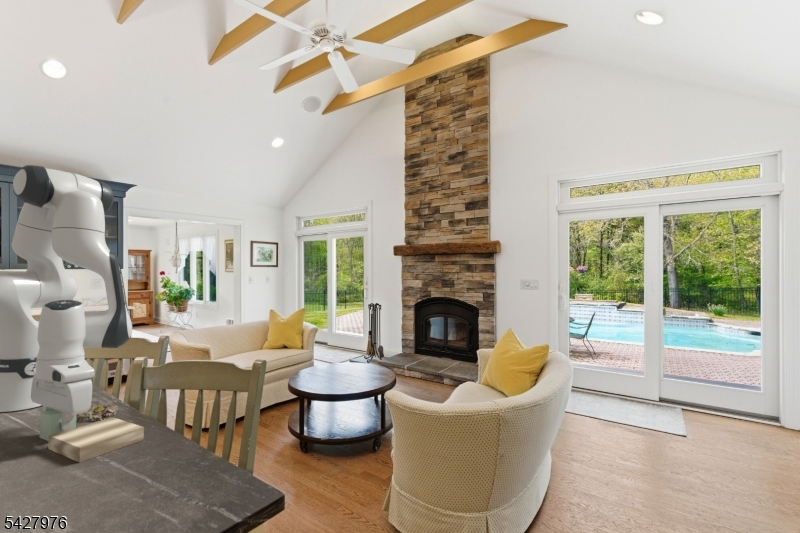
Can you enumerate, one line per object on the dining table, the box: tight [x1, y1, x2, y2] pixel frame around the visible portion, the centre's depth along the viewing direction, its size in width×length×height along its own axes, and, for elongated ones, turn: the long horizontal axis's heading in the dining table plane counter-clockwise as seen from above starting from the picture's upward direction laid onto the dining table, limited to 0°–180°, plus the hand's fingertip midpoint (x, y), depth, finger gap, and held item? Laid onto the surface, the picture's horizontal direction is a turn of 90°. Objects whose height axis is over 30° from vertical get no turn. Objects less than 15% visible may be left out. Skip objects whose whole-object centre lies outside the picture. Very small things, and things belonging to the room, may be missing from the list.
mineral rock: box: [76, 404, 119, 424], centre depth 107 cm, size 11×4×8 cm
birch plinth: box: [47, 416, 145, 463], centre depth 91 cm, size 13×13×3 cm
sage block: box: [39, 409, 77, 442], centre depth 95 cm, size 5×5×6 cm
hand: (58, 426), depth 95 cm, fingers closed on sage block, 5 cm apart
